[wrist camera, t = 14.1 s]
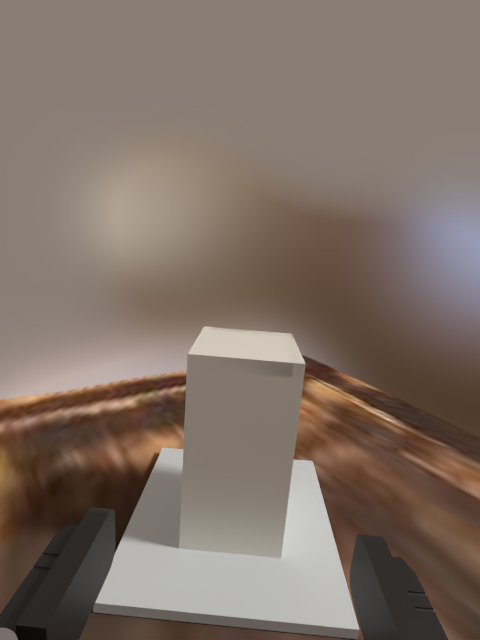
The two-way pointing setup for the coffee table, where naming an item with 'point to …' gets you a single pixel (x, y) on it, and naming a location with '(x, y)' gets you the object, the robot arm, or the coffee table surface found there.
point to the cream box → (239, 440)
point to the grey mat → (230, 566)
